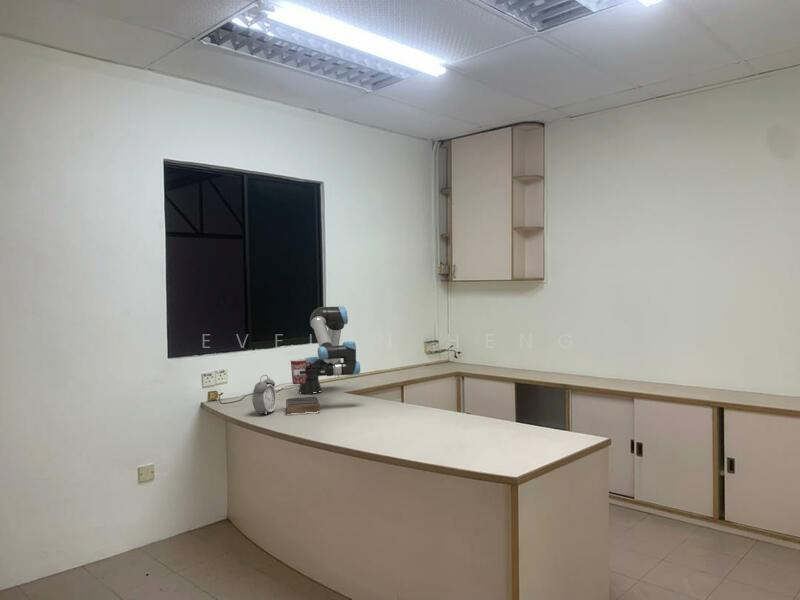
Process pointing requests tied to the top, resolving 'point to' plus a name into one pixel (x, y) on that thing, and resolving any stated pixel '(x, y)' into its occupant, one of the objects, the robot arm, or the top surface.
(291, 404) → the walnut stand
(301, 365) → the mug
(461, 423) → the top surface
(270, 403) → the alarm clock
